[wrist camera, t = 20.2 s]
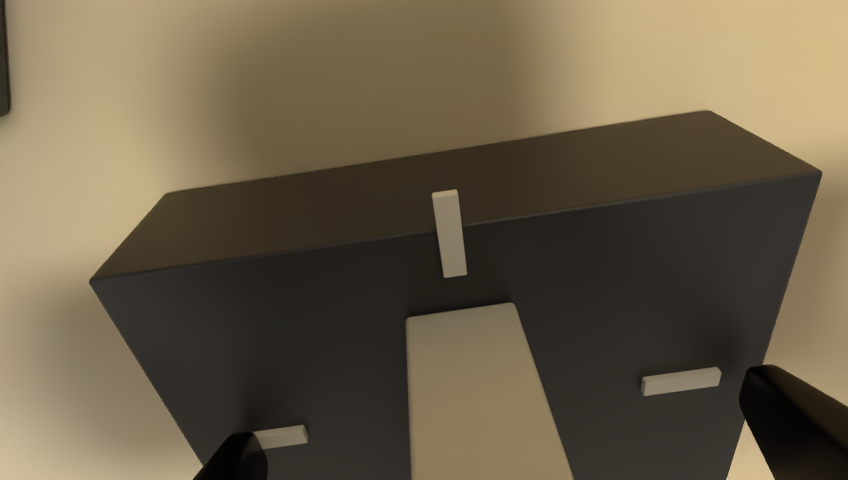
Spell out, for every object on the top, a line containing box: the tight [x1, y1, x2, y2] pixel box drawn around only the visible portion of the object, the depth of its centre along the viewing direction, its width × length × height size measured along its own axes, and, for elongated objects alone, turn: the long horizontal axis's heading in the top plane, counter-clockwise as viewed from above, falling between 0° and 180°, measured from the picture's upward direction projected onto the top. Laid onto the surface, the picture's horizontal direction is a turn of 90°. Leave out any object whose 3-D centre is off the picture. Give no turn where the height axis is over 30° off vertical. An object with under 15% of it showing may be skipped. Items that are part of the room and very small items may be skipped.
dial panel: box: [89, 111, 822, 480], centre depth 11 cm, size 11×9×3 cm
